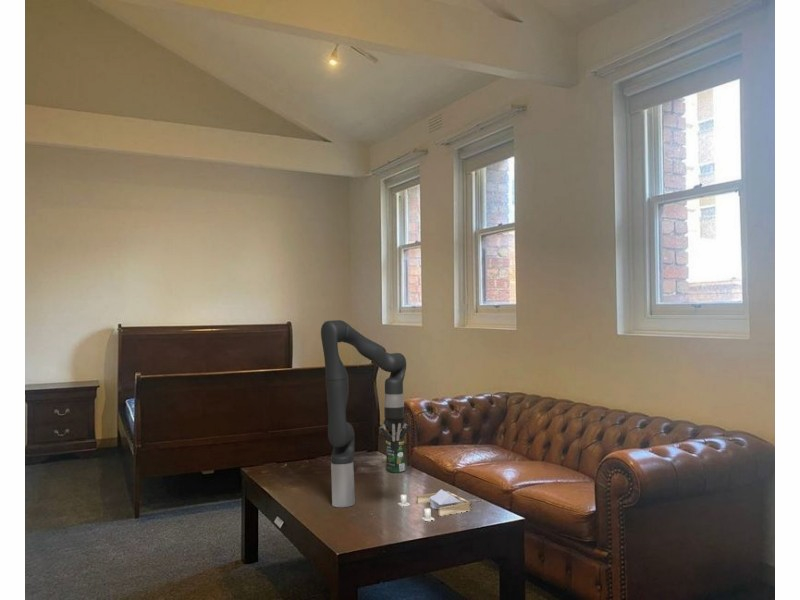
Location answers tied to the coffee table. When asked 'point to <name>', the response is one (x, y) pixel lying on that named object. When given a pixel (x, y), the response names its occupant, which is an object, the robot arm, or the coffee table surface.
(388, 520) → the coffee table surface
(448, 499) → the wedge on round base
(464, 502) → the frame
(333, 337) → the robot arm
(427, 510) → the clip gate
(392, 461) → the coffee jar
